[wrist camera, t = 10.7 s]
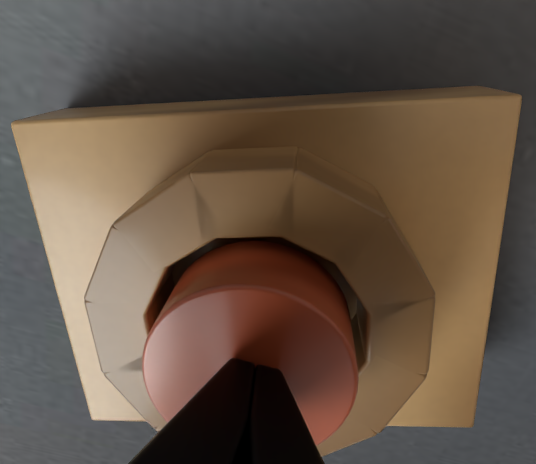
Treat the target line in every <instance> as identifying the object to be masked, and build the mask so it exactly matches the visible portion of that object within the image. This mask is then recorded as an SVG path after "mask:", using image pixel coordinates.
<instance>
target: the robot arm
mask: <svg viewBox="0 0 536 464" xmlns="http://www.w3.org/2000/svg"><path fill="white" fill-rule="evenodd" d="M128 464H324V462H323V460H322V457H321V455H320V453H319V451H318V449H317V447H316V444H315V442H314V440H313V438H312V436H311V434H310V431H309V429H308V427H307V425H306V423H305V421H304V418H303V416H302V414H301V412H300V410H299V408H298V406H297V403H296V401H295V399H294V397H293V395H292V393H291V390H290V388H289V386H288V384H287V382H286V380H285V377H284V375H283V373H282V372H281V371H280V370H279V369H277V368H273V367H269V366H265V365H260V364H259V365H257V366H256V367H255V365H254V363H252V362H249V361H245V360H241V359H237V358H231V359H230V360H228V361H227V362H226V363H225V364H224V365H223V366H222V367H221V369H220V370H219V371H218V372H217V373H216V374H215V375H214V376H213V377H212V378H211V379H210V380H209V381H208V382H207V383H206V384H205V385H204V386H203V387H202V388H201V389H200V390H199V391H198V392H197V393H196V394H195V395H194V396H193V397H192V398H191V399H190V400H189V401H188V402H187V403H186V405H185V406H184V407H183V408H182V409H181V410H180V411H179V412H178V413H177V414H176V415H175V416H174V417H173V418H172V419H171V420H170V421H169V422H168V423H167V424H166V425H165V426H164V427H163V428H162V429H161V430H160V431H159V432H158V433H157V434H156V435H155V436H154V437H153V438H152V440H151V441H150V442H149V443H148V444H147V445H146V446H145V447H144V448H143V449H142V450H141V451H140V452H139V453H138V454H137V455H136V456H135V457H134V458H133V459H132V460H131V461H130V462H129V463H128Z"/></svg>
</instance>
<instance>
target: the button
mask: <svg viewBox="0 0 536 464" xmlns="http://www.w3.org/2000/svg"><path fill="white" fill-rule="evenodd" d="M231 358H237V359H241V360H245V361H249V362H252V363H254V365H255V367H256V366H257V365H259V364H260V365H265V366H269V367H273V368H277V369H279V370H280V371H281V372H282V373H283V375H284V377H285V380H286V382H287V384H288V386H289V388H290V390H291V393H292V395H293V397H294V399H295V401H296V403H297V406H298V408H299V410H300V412H301V414H302V416H303V418H304V421H305V423H306V425H307V427H308V429H309V431H310V434H311V436H312V438H313V440H314V442H315V444H316V446H317V445H319V444H321V443H322V442H324V441H325V440H327V439H328V438H329V437H330V436H331V435H333V434H334V433H335V432H336V431H337V430H338V429H339V427H340V426H341V425H342V424H343V423H344V421H345V420H346V418H347V417H348V415H349V413H350V411H351V409H352V407H353V405H354V402H355V399H356V395H357V392H358V383H359V374H358V364H357V358H356V351H355V345H354V339H353V332H352V326H351V319H350V313H349V309H348V304H347V301H346V299H345V296H344V294H343V292H342V290H341V288H340V287H339V285H338V283H337V282H336V281H335V279H334V278H333V277H332V275H331V274H330V273H329V272H328V271H327V270H326V269H325V268H324V267H323V266H322V265H320V264H319V263H318V262H316V261H315V260H314V259H312V258H311V257H309V256H307V255H306V254H304V253H302V252H300V251H298V250H295V249H293V248H290V247H288V246H284V245H281V244H277V243H271V242H264V241H247V242H237V243H233V244H228V245H225V246H222V247H219V248H216V249H214V250H212V251H210V252H208V253H206V254H204V255H203V256H201V257H200V258H198V259H197V260H196V261H195V262H193V263H192V264H191V265H190V266H189V267H188V268H187V269H186V271H185V272H184V273H183V274H182V276H181V277H180V279H179V280H178V282H177V284H176V286H175V287H174V289H173V291H172V293H171V295H170V296H169V298H168V300H167V302H166V303H165V305H164V307H163V309H162V311H161V312H160V314H159V316H158V318H157V319H156V321H155V323H154V325H153V327H152V328H151V330H150V332H149V334H148V336H147V339H146V342H145V345H144V350H143V355H142V371H143V378H144V383H145V386H146V390H147V393H148V395H149V397H150V399H151V401H152V403H153V405H154V406H155V408H156V410H157V411H158V413H159V414H160V415H161V416H162V417H163V419H164V420H165V421H166V422H167V423H168V422H169V421H170V420H171V419H172V418H173V417H174V416H175V415H176V414H177V413H178V412H179V411H180V410H181V409H182V408H183V407H184V406H185V405H186V403H187V402H188V401H189V400H190V399H191V398H192V397H193V396H194V395H195V394H196V393H197V392H198V391H199V390H200V389H201V388H202V387H203V386H204V385H205V384H206V383H207V382H208V381H209V380H210V379H211V378H212V377H213V376H214V375H215V374H216V373H217V372H218V371H219V370H220V369H221V367H222V366H223V365H224V364H225V363H226V362H227V361H228V360H230V359H231Z"/></svg>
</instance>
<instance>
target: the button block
mask: <svg viewBox="0 0 536 464" xmlns="http://www.w3.org/2000/svg"><path fill="white" fill-rule="evenodd" d="M521 103H522V96H521V95H519V94H516V93H511V92H506V91H502V90H497V89H492V88H487V87H483V86H463V87H445V88H427V89H409V90H390V91H372V92H354V93H336V94H318V95H300V96H282V97H264V98H246V99H228V100H210V101H192V102H174V103H156V104H138V105H120V106H102V107H84V108H66V109H61V110H57V111H52V112H48V113H44V114H40V115H36V116H32V117H28V118H24V119H19V120H15V121H13V122H12V123H11V127H12V131H13V134H14V138H15V142H16V145H17V149H18V153H19V156H20V160H21V164H22V167H23V171H24V174H25V178H26V182H27V185H28V189H29V193H30V196H31V200H32V204H33V207H34V211H35V215H36V218H37V222H38V226H39V229H40V233H41V236H42V240H43V244H44V247H45V251H46V255H47V258H48V262H49V266H50V269H51V273H52V277H53V280H54V284H55V288H56V291H57V295H58V298H59V302H60V306H61V309H62V313H63V317H64V320H65V324H66V328H67V331H68V335H69V339H70V342H71V346H72V350H73V353H74V357H75V360H76V364H77V368H78V371H79V375H80V379H81V382H82V386H83V390H84V393H85V397H86V401H87V404H88V408H89V412H90V415H91V419H92V420H102V421H147V422H148V423H149V424H150V425H151V426H152V427H153V428H156V431H158V432H159V431H160V430H161V429H162V428H163V427H164V426H165V425H166V424H167V422H166V421H165V420H164V419H163V417H162V416H161V415H160V414H159V413H158V411H157V410H156V408H155V406H154V405H153V403H152V401H151V399H150V397H149V395H148V393H147V390H146V386H145V383H144V378H143V371H142V355H143V350H144V345H145V342H146V339H147V336H148V334H149V332H150V330H151V328H152V327H153V325H154V323H155V321H156V319H157V318H158V316H159V314H160V312H161V311H162V309H163V307H164V305H165V303H166V302H167V300H168V298H169V296H170V295H171V293H172V291H173V289H174V287H175V286H176V284H177V282H178V280H179V279H180V277H181V276H182V274H183V273H184V272H185V271H186V269H187V268H188V267H189V266H190V265H191V264H192V263H193V262H195V261H196V260H197V259H198V258H200V257H201V256H203V255H204V254H206V253H208V252H210V251H212V250H214V249H216V248H219V247H222V246H225V245H228V244H233V243H237V242H247V241H264V242H271V243H277V244H281V245H284V246H288V247H290V248H293V249H295V250H298V251H300V252H302V253H304V254H306V255H307V256H309V257H311V258H312V259H314V260H315V261H316V262H318V263H319V264H320V265H322V266H323V267H324V268H325V269H326V270H327V271H328V272H329V273H330V274H331V275H332V277H333V278H334V279H335V281H336V282H337V283H338V285H339V287H340V288H341V290H342V292H343V294H344V296H345V299H346V301H347V304H348V309H349V313H350V319H351V326H352V332H353V339H354V345H355V351H356V358H357V364H358V374H359V383H358V392H357V395H356V399H355V402H354V405H353V407H352V409H351V411H350V413H349V415H348V417H347V418H346V420H345V421H344V423H343V424H342V425H341V426H340V427H339V429H338V430H337V431H336V432H335V433H334V434H333V435H331V436H330V437H329V438H328V439H327V440H325V441H324V442H322V443H321V444H319V445H317V446H316V447H317V449H318V451H319V453H320V455H321V457H323V456H325V455H328V454H330V453H333V452H335V451H338V450H340V449H343V448H345V447H348V446H350V445H353V444H355V443H358V442H360V441H363V440H365V439H368V438H370V437H373V436H375V435H376V434H377V433H380V432H382V430H383V429H384V428H385V427H386V426H421V427H473V425H474V419H475V412H476V405H477V398H478V392H479V385H480V378H481V372H482V365H483V358H484V351H485V345H486V338H487V331H488V325H489V318H490V311H491V304H492V298H493V291H494V284H495V278H496V271H497V264H498V257H499V251H500V244H501V237H502V230H503V224H504V217H505V210H506V204H507V197H508V190H509V183H510V177H511V170H512V163H513V157H514V150H515V143H516V136H517V130H518V123H519V116H520V110H521Z"/></svg>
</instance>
